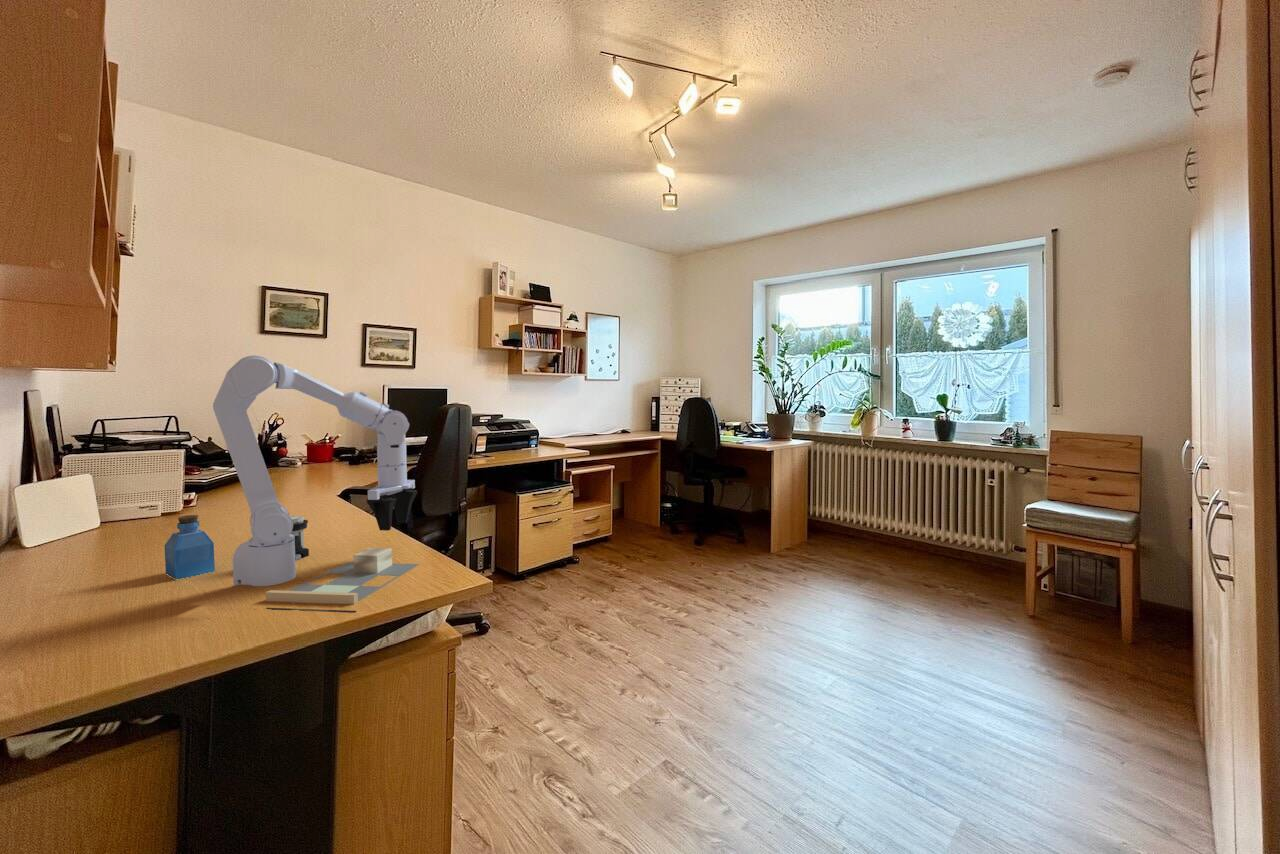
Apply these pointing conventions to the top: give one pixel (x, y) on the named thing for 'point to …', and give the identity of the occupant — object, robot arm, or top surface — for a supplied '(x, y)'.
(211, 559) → the perfume bottle
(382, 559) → the maple block
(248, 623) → the top surface
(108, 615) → the top surface
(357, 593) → the board
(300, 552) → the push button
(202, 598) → the top surface
